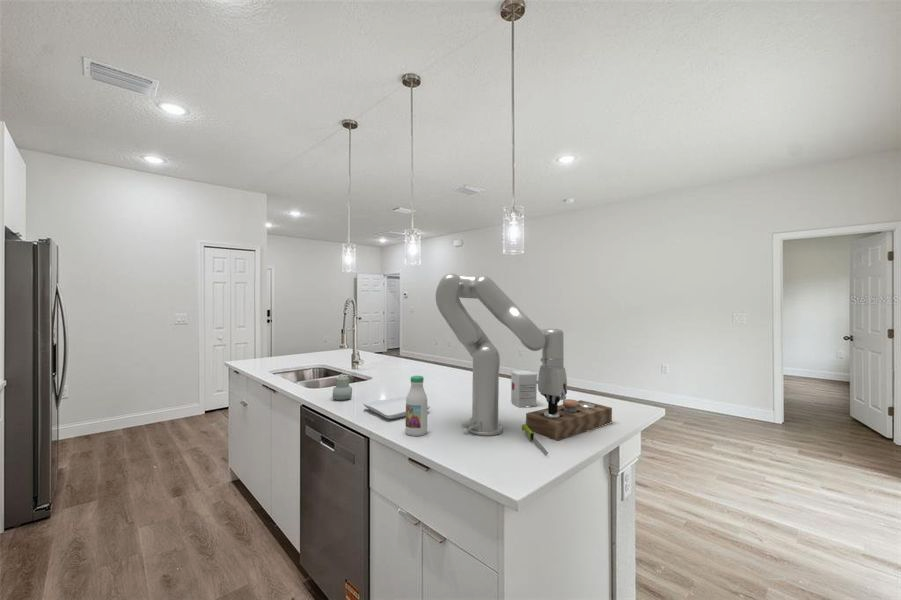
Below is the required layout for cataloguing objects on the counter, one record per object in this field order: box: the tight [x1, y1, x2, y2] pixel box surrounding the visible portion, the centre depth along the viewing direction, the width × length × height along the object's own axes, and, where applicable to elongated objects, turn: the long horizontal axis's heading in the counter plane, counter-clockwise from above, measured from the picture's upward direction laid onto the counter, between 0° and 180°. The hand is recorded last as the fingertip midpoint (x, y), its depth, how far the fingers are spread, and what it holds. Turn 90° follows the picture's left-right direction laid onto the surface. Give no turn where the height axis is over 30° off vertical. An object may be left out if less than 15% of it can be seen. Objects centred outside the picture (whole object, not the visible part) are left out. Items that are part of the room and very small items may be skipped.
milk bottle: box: [405, 375, 428, 437], centre depth 137 cm, size 8×8×20 cm
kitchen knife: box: [521, 423, 549, 456], centre depth 127 cm, size 22×1×3 cm, turn 9°
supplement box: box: [510, 370, 538, 408], centre depth 176 cm, size 9×9×15 cm
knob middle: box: [562, 398, 579, 414], centre depth 146 cm, size 6×6×6 cm
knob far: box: [580, 403, 595, 409], centre depth 153 cm, size 6×6×6 cm
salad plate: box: [363, 396, 431, 420], centre depth 162 cm, size 21×21×3 cm
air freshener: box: [332, 376, 353, 401], centre depth 182 cm, size 11×8×10 cm
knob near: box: [544, 411, 560, 419], centre depth 140 cm, size 6×6×6 cm
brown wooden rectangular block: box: [525, 399, 613, 442], centre depth 146 cm, size 34×14×6 cm, turn 127°
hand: (552, 413), depth 140 cm, fingers closed
